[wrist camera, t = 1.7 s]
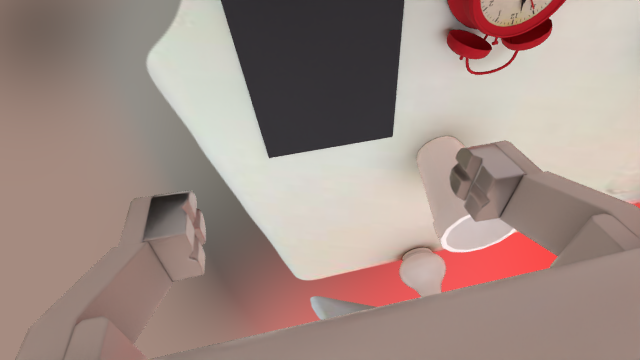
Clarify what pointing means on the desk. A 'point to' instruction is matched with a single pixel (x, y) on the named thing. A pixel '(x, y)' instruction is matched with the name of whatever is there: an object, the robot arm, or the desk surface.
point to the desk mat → (318, 69)
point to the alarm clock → (500, 26)
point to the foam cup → (453, 201)
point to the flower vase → (423, 271)
